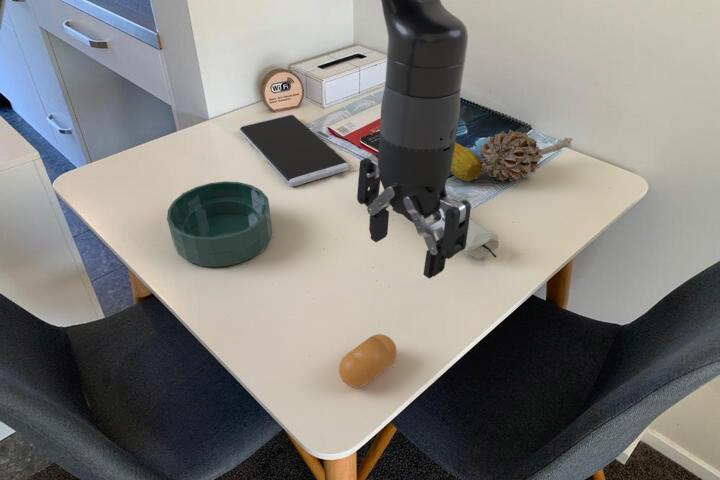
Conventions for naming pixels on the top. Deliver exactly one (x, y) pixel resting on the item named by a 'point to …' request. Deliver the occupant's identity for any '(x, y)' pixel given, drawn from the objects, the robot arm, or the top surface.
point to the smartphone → (293, 150)
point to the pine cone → (514, 155)
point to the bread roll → (367, 360)
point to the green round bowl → (220, 223)
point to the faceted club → (479, 240)
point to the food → (465, 164)
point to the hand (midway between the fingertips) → (404, 255)
